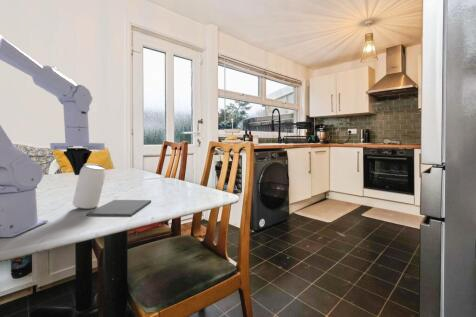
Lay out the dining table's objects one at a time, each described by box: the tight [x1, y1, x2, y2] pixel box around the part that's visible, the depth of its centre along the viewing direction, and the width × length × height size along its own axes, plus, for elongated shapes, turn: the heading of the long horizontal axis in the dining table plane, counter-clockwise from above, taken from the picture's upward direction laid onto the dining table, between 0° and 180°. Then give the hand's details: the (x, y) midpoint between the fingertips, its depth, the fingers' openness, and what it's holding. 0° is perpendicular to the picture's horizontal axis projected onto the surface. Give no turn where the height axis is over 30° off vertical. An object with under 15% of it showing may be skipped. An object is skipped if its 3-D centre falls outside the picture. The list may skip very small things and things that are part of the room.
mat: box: [86, 199, 152, 217], centre depth 70 cm, size 14×12×1 cm
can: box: [72, 163, 107, 210], centre depth 69 cm, size 6×6×12 cm
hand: (79, 174), depth 69 cm, fingers closed
